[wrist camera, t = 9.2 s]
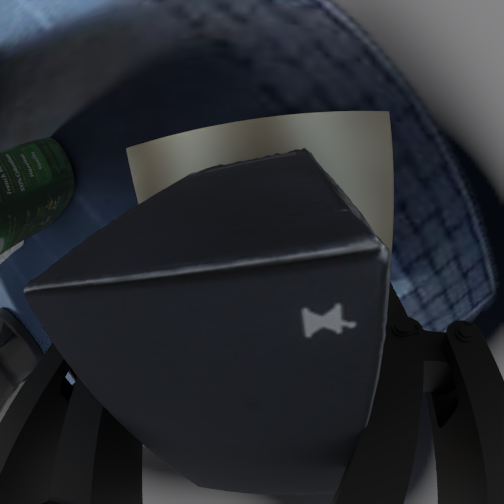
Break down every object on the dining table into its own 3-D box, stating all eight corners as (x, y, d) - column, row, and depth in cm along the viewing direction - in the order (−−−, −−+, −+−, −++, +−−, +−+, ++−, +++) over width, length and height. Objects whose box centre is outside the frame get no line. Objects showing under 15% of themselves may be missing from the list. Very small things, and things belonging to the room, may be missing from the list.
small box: (179, 173, 13) (3, 284, 3) (311, 145, 12) (418, 214, 2) (230, 337, 17) (192, 491, 8) (332, 326, 16) (353, 492, 6)
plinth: (205, 298, 24) (184, 343, 19) (168, 140, 19) (126, 148, 13) (363, 288, 22) (380, 336, 16) (359, 115, 16) (389, 111, 11)
